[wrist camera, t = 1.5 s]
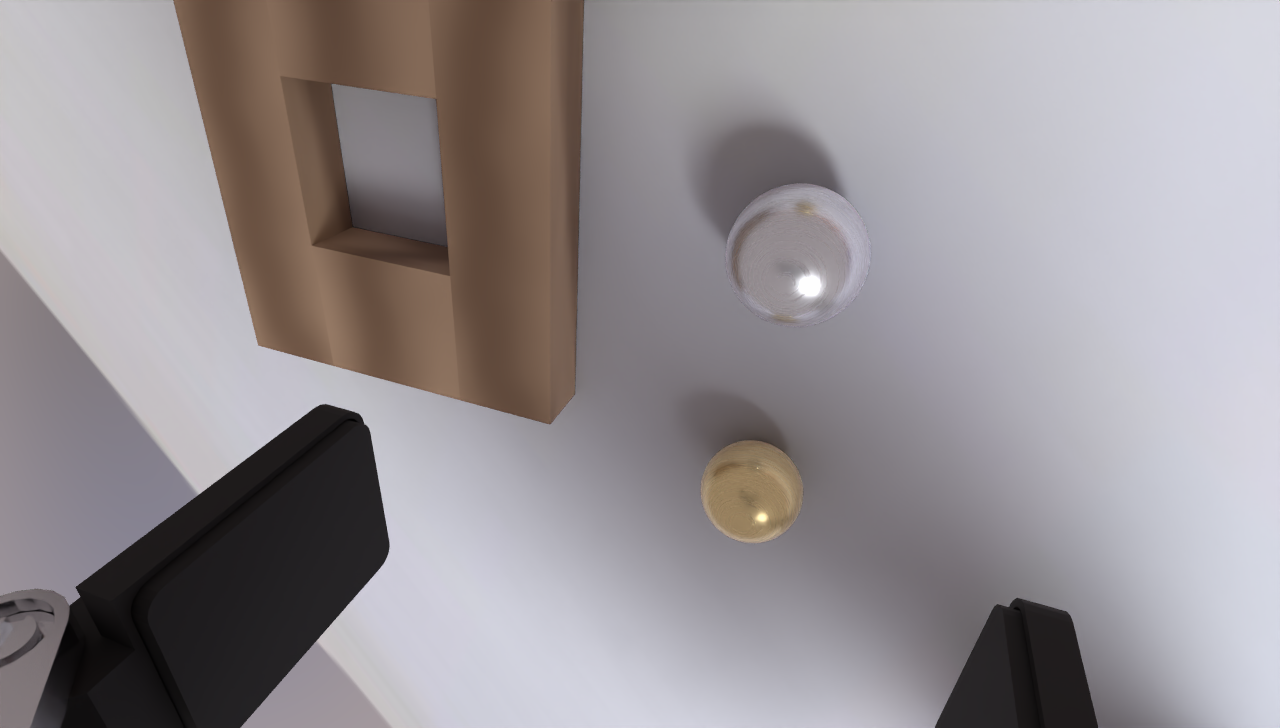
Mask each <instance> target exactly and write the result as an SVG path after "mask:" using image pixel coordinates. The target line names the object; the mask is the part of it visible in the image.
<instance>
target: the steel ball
mask: <svg viewBox="0 0 1280 728" xmlns="http://www.w3.org/2000/svg"><path fill="white" fill-rule="evenodd" d="M725 260H726V269H727V274H728V278H729V281H730V283H731V286H732V288H733V290H734V292H735V294H736V295H737V297H738V298H739V300H740V301H741V302H742V303H743V304H744V305H745V306H746V307H747V308H748V309H749V310H750V311H751V312H753V313H754V314H756V315H757V316H758V317H760V318H762V319H764V320H766V321H769V322H771V323H774V324H778V325H782V326H788V327H803V326H810V325H815V324H818V323H821V322H824V321H826V320H828V319H830V318H832V317H834V316H835V315H837V314H838V313H840V312H841V311H843V310H844V309H845V308H846V307H847V306H848V305H849V304H850V303H851V302H852V301H853V300H854V298H855V297H856V296H857V295H858V293H859V292H860V290H861V288H862V286H863V284H864V282H865V280H866V277H867V274H868V271H869V266H870V261H871V247H870V239H869V235H868V231H867V228H866V226H865V224H864V222H863V220H862V218H861V217H860V215H859V213H858V212H857V211H856V209H855V208H854V207H853V206H852V205H851V204H850V203H849V202H848V201H847V200H846V199H845V198H843V197H842V196H841V195H839V194H838V193H836V192H834V191H832V190H830V189H827V188H825V187H822V186H818V185H813V184H805V183H798V184H789V185H783V186H780V187H777V188H773V189H771V190H769V191H767V192H765V193H763V194H762V195H760V196H758V197H757V198H756V199H754V200H753V201H752V202H751V203H750V204H749V205H747V207H746V208H745V209H744V210H743V211H742V212H741V213H740V215H739V216H738V218H737V219H736V221H735V223H734V225H733V227H732V229H731V231H730V234H729V237H728V241H727V246H726V257H725Z"/></svg>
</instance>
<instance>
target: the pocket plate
mask: <svg viewBox="0 0 1280 728" xmlns="http://www.w3.org/2000/svg"><path fill="white" fill-rule="evenodd" d="M173 1H174V5H175V9H176V13H177V17H178V21H179V25H180V29H181V33H182V37H183V41H184V46H185V50H186V54H187V58H188V62H189V66H190V70H191V74H192V78H193V82H194V86H195V90H196V94H197V98H198V102H199V106H200V111H201V115H202V119H203V123H204V127H205V131H206V135H207V139H208V143H209V147H210V151H211V155H212V159H213V163H214V167H215V172H216V176H217V180H218V184H219V188H220V192H221V196H222V200H223V204H224V208H225V212H226V216H227V220H228V224H229V228H230V232H231V237H232V241H233V245H234V249H235V253H236V257H237V261H238V265H239V269H240V273H241V277H242V281H243V285H244V289H245V293H246V297H247V302H248V306H249V310H250V314H251V318H252V322H253V326H254V330H255V334H256V338H257V342H258V345H259V346H262V347H266V348H270V349H273V350H277V351H281V352H284V353H288V354H292V355H295V356H299V357H303V358H307V359H310V360H314V361H318V362H321V363H325V364H329V365H332V366H336V367H340V368H343V369H347V370H351V371H355V372H358V373H362V374H366V375H369V376H373V377H377V378H380V379H384V380H388V381H392V382H395V383H399V384H403V385H406V386H410V387H414V388H417V389H421V390H425V391H428V392H432V393H436V394H440V395H443V396H447V397H451V398H454V399H458V400H462V401H465V402H469V403H473V404H476V405H480V406H484V407H488V408H491V409H495V410H499V411H502V412H506V413H510V414H513V415H517V416H521V417H524V418H528V419H532V420H536V421H539V422H543V423H547V424H551V423H552V422H553V420H554V419H555V418H556V417H557V415H558V414H559V413H560V412H561V411H562V409H563V408H564V407H565V406H566V404H567V403H568V402H569V401H570V400H571V398H572V397H573V396H574V395H575V367H576V324H577V280H578V236H579V192H580V148H581V105H582V61H583V17H584V0H173ZM331 84H338V85H345V86H352V87H358V88H365V89H372V90H379V91H386V92H392V93H399V94H406V95H413V96H419V97H426V98H433V99H436V103H437V116H438V129H439V141H440V154H441V167H442V179H443V192H444V205H445V217H446V230H447V243H448V247H445V246H440V245H435V244H431V243H426V242H421V241H416V240H411V239H407V238H402V237H397V236H392V235H387V234H383V233H378V232H373V231H368V230H363V229H359V228H354V227H352V220H351V214H350V207H349V200H348V194H347V187H346V181H345V174H344V167H343V161H342V154H341V148H340V141H339V134H338V128H337V121H336V114H335V108H334V101H333V95H332V88H331Z"/></svg>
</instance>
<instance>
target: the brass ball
mask: <svg viewBox="0 0 1280 728" xmlns="http://www.w3.org/2000/svg"><path fill="white" fill-rule="evenodd" d="M701 500H702V504H703V507H704V510H705V512H706V514H707V516H708V518H709V519H710V521H711V522H712V524H713V525H714V526H715V527H716V528H717V529H718V530H719V531H721V532H722V533H723V534H725V535H726V536H728V537H730V538H732V539H734V540H737V541H740V542H745V543H762V542H766V541H770V540H773V539H775V538H777V537H778V536H780V535H782V534H783V533H784V532H786V531H787V530H788V529H789V528H790V527H791V526H792V524H793V523H794V522H795V520H796V518H797V516H798V515H799V512H800V509H801V506H802V501H803V485H802V480H801V477H800V474H799V471H798V469H797V467H796V466H795V464H794V463H793V461H792V460H791V459H790V458H789V457H788V456H787V455H786V454H785V453H784V452H783V451H781V450H780V449H779V448H777V447H775V446H773V445H771V444H769V443H766V442H762V441H756V440H745V441H739V442H735V443H733V444H730V445H728V446H726V447H724V448H723V449H721V450H720V451H719V452H718V453H716V454H715V456H714V457H713V458H712V459H711V460H710V462H709V463H708V465H707V466H706V468H705V471H704V473H703V476H702V481H701Z"/></svg>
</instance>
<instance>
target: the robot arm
mask: <svg viewBox="0 0 1280 728" xmlns="http://www.w3.org/2000/svg"><path fill="white" fill-rule="evenodd" d="M388 552H389V538H388V532H387V526H386V521H385V515H384V509H383V503H382V498H381V492H380V486H379V480H378V475H377V469H376V463H375V457H374V452H373V446H372V440H371V434H370V430H369V428H368V427H367V426H366V425H364V422H363V419H362V417H361V416H360V415H359V414H358V413H355V412H352V411H349V410H345V409H342V408H338V407H334V406H331V405H327V404H324V405H319V406H318V407H316V408H314V409H313V410H311V411H310V412H309V413H307V414H306V415H305V416H303V417H302V418H301V419H299V420H298V421H297V422H295V423H294V424H293V425H291V426H290V427H289V428H287V429H286V430H285V431H283V432H282V433H281V434H279V435H278V436H277V437H275V438H274V439H273V440H271V441H270V442H269V443H267V444H266V445H265V446H263V447H262V448H261V449H259V450H258V451H257V452H255V453H254V454H253V455H251V456H250V457H249V458H247V459H246V460H245V461H243V462H242V463H241V464H239V465H238V466H237V467H235V468H234V469H233V470H231V471H230V472H229V473H227V474H226V475H225V476H223V477H222V478H221V479H219V480H218V481H217V482H215V483H214V484H213V485H211V486H210V487H209V488H207V489H206V490H205V491H203V492H202V493H201V494H199V495H198V496H197V497H195V498H194V499H193V500H191V501H190V502H189V503H187V504H186V505H185V506H183V507H182V508H181V509H179V510H178V511H177V512H175V513H174V514H173V515H171V516H170V517H169V518H167V519H166V520H165V521H163V522H162V523H160V524H159V525H158V526H156V527H155V528H154V529H152V530H151V531H150V532H148V533H147V534H146V535H145V536H144V537H142V538H140V539H139V540H138V541H137V542H135V543H134V544H133V545H131V546H130V547H128V548H127V549H126V550H125V551H123V552H122V553H120V554H119V555H118V556H117V557H115V558H114V559H112V560H111V561H110V562H108V563H107V564H106V565H104V566H103V567H102V568H101V569H99V570H98V571H96V572H95V573H94V574H93V575H91V576H90V577H89V578H87V579H86V580H84V581H83V582H82V583H80V584H79V585H78V586H76V589H77V591H78V593H79V595H80V598H79V599H78V600H76V601H75V602H74V603H72V604H71V605H70V606H69V604H68V603H67V601H66V599H65V597H63V596H62V595H60V594H58V593H56V592H55V591H51V590H43V589H30V590H21V591H15V592H12V593H9V594H5V595H2V596H0V728H240V727H241V726H242V725H243V724H244V723H245V722H246V721H247V719H248V718H249V717H250V716H251V715H252V714H253V713H254V711H255V710H256V709H257V708H258V707H259V706H260V705H261V703H262V702H263V701H264V700H265V699H266V698H267V697H268V695H269V694H270V693H271V692H272V691H273V689H275V687H276V686H277V685H278V684H279V683H280V682H281V681H282V679H283V678H284V677H285V676H286V675H287V674H288V672H289V671H290V670H291V669H292V668H293V667H294V666H295V665H296V663H297V662H298V661H299V660H300V659H301V658H302V656H303V655H304V654H305V653H306V652H307V651H308V650H309V649H310V647H311V646H312V645H313V644H314V643H315V642H316V641H317V640H318V638H319V637H320V636H321V635H322V634H323V633H324V632H325V630H326V629H327V628H328V627H329V626H330V625H331V624H332V622H333V621H334V620H335V619H336V618H337V617H338V616H339V614H340V613H341V612H342V611H343V610H344V609H345V608H346V606H347V605H348V604H349V603H350V602H351V601H352V600H353V598H354V597H355V596H356V595H357V594H358V593H359V592H360V590H361V589H362V588H363V587H364V586H365V585H366V584H367V582H368V581H369V580H370V579H371V578H372V577H373V576H374V574H375V573H376V572H377V571H378V570H379V569H380V568H381V566H382V565H383V564H384V562H385V560H386V558H387V555H388ZM935 728H1098V725H1097V721H1096V717H1095V712H1094V708H1093V704H1092V700H1091V696H1090V692H1089V687H1088V683H1087V679H1086V675H1085V671H1084V667H1083V662H1082V658H1081V654H1080V650H1079V646H1078V642H1077V637H1076V633H1075V629H1074V625H1073V622H1072V619H1071V616H1070V615H1069V614H1068V613H1067V612H1066V611H1063V610H1059V609H1055V608H1052V607H1048V606H1045V605H1041V604H1038V603H1034V602H1030V601H1027V600H1023V599H1019V598H1016V599H1015V600H1013V601H1012V603H1011V604H1010V606H1009V607H1005V606H1002V605H998V604H997V605H996V606H995V607H994V608H993V610H992V612H991V614H990V616H989V618H988V620H987V622H986V624H985V626H984V628H983V630H982V632H981V634H980V636H979V638H978V640H977V642H976V644H975V646H974V648H973V650H972V652H971V654H970V656H969V658H968V661H967V663H966V665H965V667H964V669H963V671H962V673H961V675H960V677H959V679H958V681H957V683H956V685H955V687H954V689H953V691H952V693H951V695H950V697H949V699H948V701H947V703H946V705H945V707H944V709H943V711H942V713H941V715H940V717H939V720H938V722H937V724H936V726H935Z"/></svg>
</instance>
